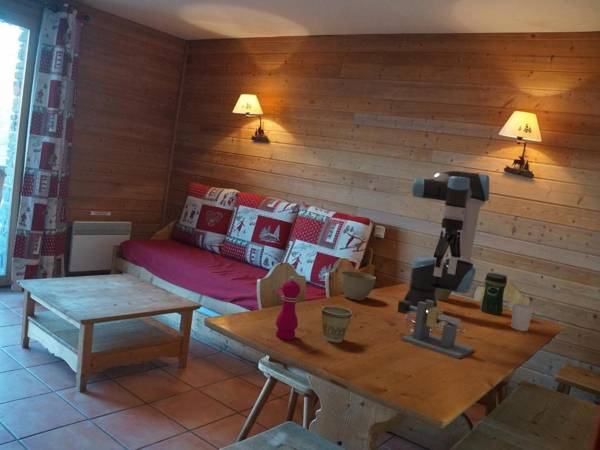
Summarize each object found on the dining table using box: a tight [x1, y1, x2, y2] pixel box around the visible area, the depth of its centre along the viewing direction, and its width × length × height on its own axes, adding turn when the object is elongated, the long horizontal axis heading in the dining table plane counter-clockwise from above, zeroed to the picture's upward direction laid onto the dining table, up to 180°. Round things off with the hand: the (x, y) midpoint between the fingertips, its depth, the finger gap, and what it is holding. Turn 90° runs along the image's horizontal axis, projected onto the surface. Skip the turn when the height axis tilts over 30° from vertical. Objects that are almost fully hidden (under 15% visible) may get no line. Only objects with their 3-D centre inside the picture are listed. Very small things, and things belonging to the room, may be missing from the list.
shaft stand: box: [400, 300, 475, 359], centre depth 184 cm, size 21×14×14 cm, turn 51°
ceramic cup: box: [321, 305, 357, 343], centre depth 177 cm, size 13×10×10 cm
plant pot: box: [435, 288, 453, 302], centre depth 264 cm, size 15×15×16 cm
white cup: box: [510, 302, 534, 332], centre depth 224 cm, size 8×8×10 cm
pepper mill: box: [275, 276, 301, 340], centre depth 172 cm, size 7×7×20 cm
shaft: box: [397, 299, 462, 327], centre depth 187 cm, size 22×4×4 cm, turn 51°
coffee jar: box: [480, 272, 508, 316], centre depth 248 cm, size 10×8×19 cm
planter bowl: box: [340, 270, 377, 301], centre depth 242 cm, size 16×16×11 cm
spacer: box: [426, 306, 445, 329], centre depth 185 cm, size 3×6×6 cm, turn 141°
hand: (444, 275), depth 197 cm, fingers open, 13 cm apart
